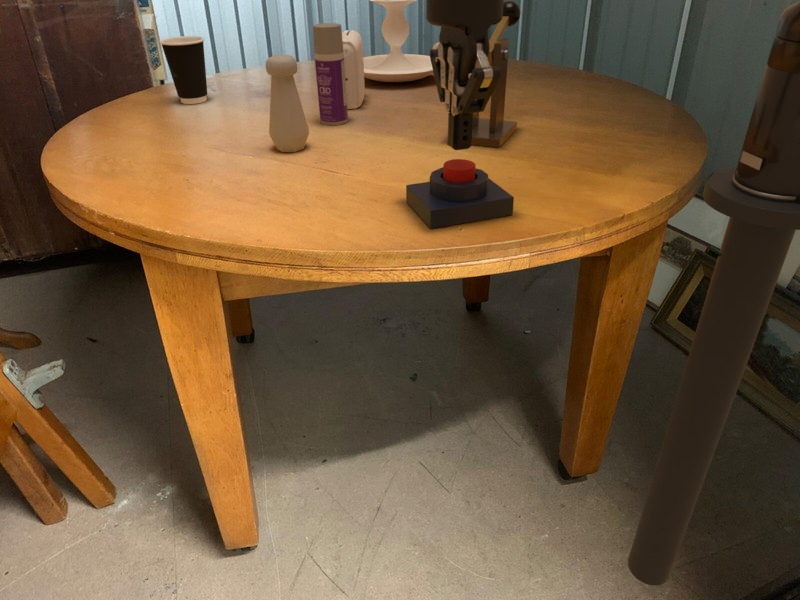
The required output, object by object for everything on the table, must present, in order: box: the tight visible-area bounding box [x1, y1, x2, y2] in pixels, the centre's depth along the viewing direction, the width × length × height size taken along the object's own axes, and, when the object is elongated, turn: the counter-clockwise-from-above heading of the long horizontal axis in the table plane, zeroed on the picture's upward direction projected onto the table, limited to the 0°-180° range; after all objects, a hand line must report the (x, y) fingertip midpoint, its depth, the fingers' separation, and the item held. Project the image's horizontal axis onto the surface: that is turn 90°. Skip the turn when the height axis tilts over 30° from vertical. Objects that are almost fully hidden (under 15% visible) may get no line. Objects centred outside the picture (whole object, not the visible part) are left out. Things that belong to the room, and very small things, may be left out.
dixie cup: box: [158, 35, 208, 105], centre depth 113 cm, size 8×8×11 cm
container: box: [312, 22, 349, 126], centre depth 98 cm, size 5×5×15 cm
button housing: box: [405, 167, 515, 230], centre depth 69 cm, size 10×8×4 cm
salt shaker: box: [265, 54, 310, 153], centre depth 87 cm, size 6×6×13 cm
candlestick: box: [363, 0, 440, 83], centre depth 120 cm, size 21×25×28 cm
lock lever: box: [488, 0, 521, 67], centre depth 90 cm, size 14×4×4 cm, turn 156°
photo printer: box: [342, 29, 366, 110], centre depth 109 cm, size 10×4×12 cm, turn 177°
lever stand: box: [471, 37, 518, 149], centre depth 90 cm, size 10×8×14 cm
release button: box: [442, 158, 477, 183], centre depth 68 cm, size 4×4×2 cm
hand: (459, 147), depth 66 cm, fingers closed
